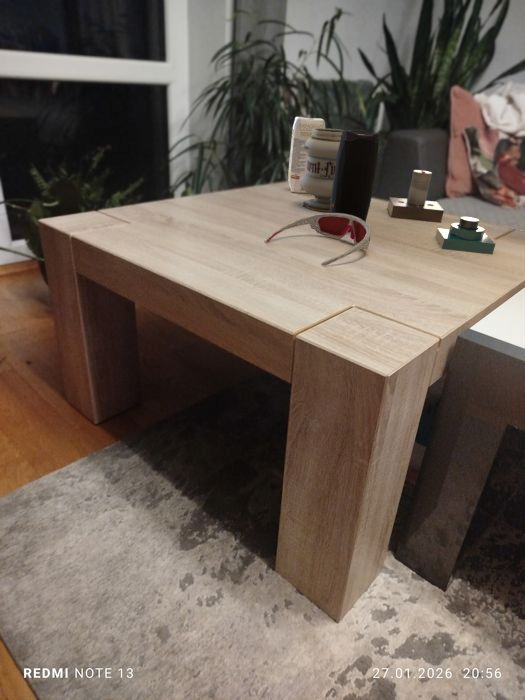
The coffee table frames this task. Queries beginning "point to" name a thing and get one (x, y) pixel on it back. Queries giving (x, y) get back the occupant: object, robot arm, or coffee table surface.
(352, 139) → the portable speaker
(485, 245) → the green stepped pedestal
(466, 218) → the grey short cylinder
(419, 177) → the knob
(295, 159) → the white carton
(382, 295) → the coffee table surface
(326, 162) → the apothecary jar
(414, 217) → the brown block with holes
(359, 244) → the sunglasses
